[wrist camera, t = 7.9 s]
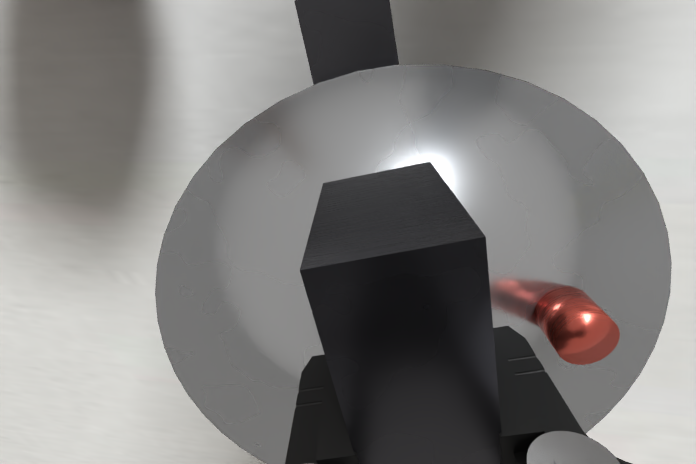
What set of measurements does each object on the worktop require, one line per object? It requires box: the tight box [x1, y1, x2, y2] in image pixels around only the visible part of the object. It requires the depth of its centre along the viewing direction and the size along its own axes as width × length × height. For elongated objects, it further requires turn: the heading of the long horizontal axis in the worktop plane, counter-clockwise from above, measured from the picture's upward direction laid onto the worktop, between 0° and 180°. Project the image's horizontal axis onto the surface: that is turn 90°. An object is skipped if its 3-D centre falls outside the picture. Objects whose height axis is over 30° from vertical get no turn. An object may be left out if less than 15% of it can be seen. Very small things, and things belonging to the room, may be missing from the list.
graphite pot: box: [295, 0, 399, 85], centre depth 17 cm, size 17×12×10 cm
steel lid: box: [155, 64, 671, 464], centre depth 10 cm, size 13×13×6 cm
